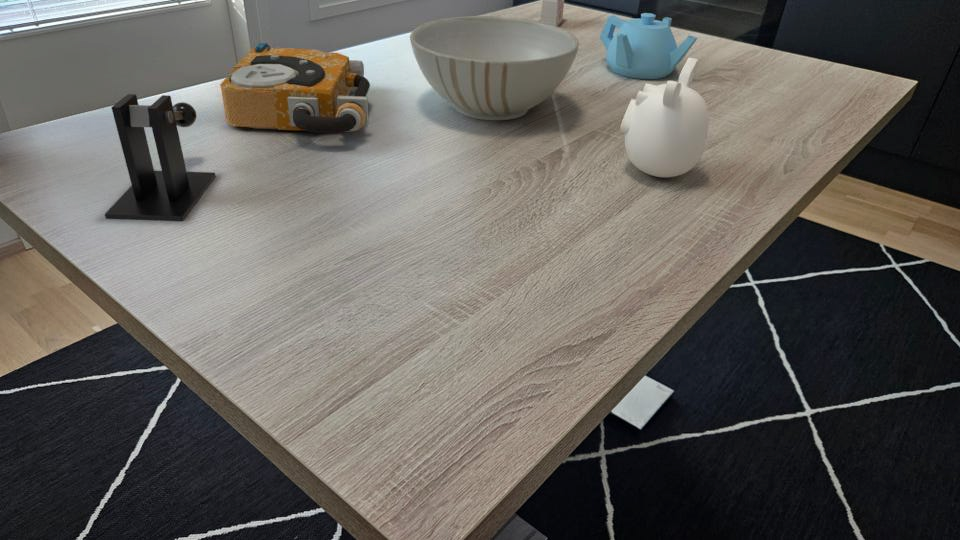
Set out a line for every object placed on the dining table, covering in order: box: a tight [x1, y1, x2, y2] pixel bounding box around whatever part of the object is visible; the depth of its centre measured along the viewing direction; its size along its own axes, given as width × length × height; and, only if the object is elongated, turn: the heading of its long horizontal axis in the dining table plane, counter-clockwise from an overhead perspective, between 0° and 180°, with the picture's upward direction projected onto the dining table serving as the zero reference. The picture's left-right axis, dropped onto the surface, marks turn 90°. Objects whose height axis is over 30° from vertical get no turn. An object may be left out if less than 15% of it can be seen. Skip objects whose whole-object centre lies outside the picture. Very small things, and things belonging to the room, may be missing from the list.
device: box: [219, 42, 371, 135], centre depth 110 cm, size 23×8×30 cm
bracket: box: [104, 93, 216, 222], centre depth 84 cm, size 12×9×13 cm
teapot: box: [598, 12, 698, 80], centre depth 137 cm, size 15×15×11 cm
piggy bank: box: [619, 56, 709, 178], centre depth 95 cm, size 12×12×15 cm
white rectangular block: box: [540, 0, 565, 27], centre depth 165 cm, size 4×7×10 cm, turn 161°
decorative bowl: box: [409, 15, 580, 121], centre depth 115 cm, size 27×27×12 cm
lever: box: [129, 102, 198, 128], centre depth 87 cm, size 14×3×3 cm, turn 0°
